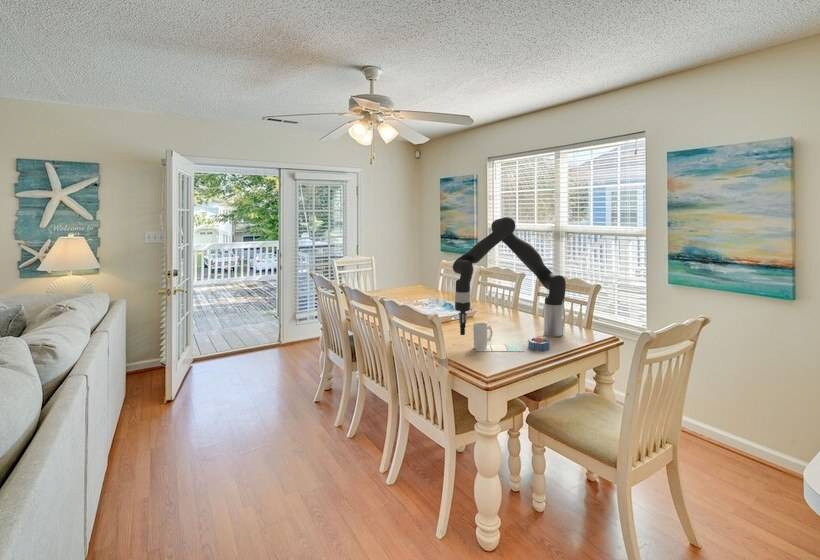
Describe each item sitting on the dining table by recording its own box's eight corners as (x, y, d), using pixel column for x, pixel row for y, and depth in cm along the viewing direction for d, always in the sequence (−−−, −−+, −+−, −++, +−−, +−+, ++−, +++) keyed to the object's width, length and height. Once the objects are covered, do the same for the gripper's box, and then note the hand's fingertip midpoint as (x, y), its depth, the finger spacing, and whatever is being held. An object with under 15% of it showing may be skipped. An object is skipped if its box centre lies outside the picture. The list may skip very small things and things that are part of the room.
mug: (477, 351, 206) (477, 327, 204) (471, 347, 212) (471, 323, 210) (495, 348, 209) (495, 324, 207) (488, 344, 215) (488, 321, 213)
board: (519, 344, 214) (519, 344, 214) (523, 351, 204) (523, 351, 203) (474, 344, 216) (474, 344, 216) (476, 351, 205) (476, 351, 205)
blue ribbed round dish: (539, 343, 215) (539, 336, 214) (553, 349, 206) (553, 341, 205) (524, 346, 210) (524, 339, 210) (538, 352, 202) (538, 344, 201)
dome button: (539, 344, 212) (539, 334, 211) (547, 347, 207) (548, 337, 206) (529, 346, 210) (530, 336, 209) (538, 349, 204) (538, 339, 203)
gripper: (454, 297, 214) (454, 330, 217) (455, 303, 201) (455, 338, 204) (469, 297, 214) (469, 331, 216) (471, 303, 201) (471, 338, 203)
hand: (462, 334), depth 210 cm, fingers closed
